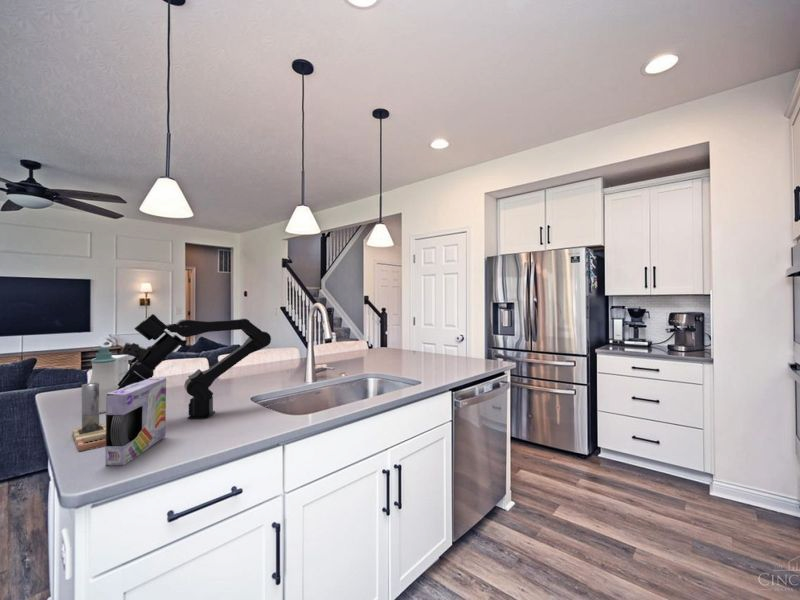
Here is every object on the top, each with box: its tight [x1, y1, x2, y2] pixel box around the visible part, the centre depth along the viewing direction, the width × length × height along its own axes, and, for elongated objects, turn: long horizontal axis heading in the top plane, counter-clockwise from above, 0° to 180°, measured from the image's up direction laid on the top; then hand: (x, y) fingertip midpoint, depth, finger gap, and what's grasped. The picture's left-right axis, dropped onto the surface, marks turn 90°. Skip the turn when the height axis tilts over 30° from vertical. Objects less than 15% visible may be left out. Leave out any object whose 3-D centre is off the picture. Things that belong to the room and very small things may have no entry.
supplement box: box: [91, 354, 129, 382], centre depth 152 cm, size 10×9×17 cm
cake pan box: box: [104, 376, 167, 466], centre depth 95 cm, size 19×5×18 cm, turn 4°
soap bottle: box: [88, 346, 119, 414], centre depth 133 cm, size 10×10×23 cm
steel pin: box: [81, 382, 100, 434], centre depth 108 cm, size 4×4×15 cm
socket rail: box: [72, 423, 106, 452], centre depth 104 cm, size 18×8×2 cm, turn 46°
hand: (118, 388), depth 111 cm, fingers open, 9 cm apart
